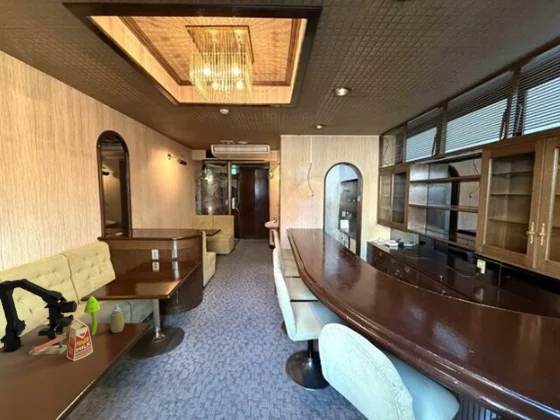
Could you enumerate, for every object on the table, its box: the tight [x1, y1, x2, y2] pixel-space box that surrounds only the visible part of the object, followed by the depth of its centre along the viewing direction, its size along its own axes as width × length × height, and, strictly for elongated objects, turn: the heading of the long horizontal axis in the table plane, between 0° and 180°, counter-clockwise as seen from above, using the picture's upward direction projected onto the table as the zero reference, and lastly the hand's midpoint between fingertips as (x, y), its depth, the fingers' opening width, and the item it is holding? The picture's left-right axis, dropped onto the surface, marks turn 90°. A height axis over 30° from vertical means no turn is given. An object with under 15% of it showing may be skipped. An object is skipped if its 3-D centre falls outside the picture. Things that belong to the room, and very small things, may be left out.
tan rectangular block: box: [49, 330, 67, 342], centre depth 157 cm, size 6×4×4 cm
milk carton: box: [66, 318, 94, 362], centre depth 144 cm, size 9×9×20 cm
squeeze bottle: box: [109, 303, 125, 334], centre depth 170 cm, size 8×8×18 cm
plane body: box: [28, 341, 68, 356], centre depth 148 cm, size 16×5×6 cm, turn 95°
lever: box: [33, 337, 63, 352], centre depth 143 cm, size 13×2×2 cm, turn 159°
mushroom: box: [83, 295, 101, 336], centre depth 165 cm, size 8×8×25 cm
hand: (56, 339), depth 157 cm, fingers closed on tan rectangular block, 4 cm apart
